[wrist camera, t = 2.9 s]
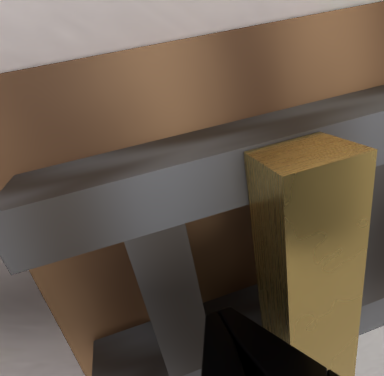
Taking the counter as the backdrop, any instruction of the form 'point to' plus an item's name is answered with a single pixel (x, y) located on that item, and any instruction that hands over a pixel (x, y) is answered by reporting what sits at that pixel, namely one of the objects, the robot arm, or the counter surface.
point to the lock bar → (312, 242)
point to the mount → (174, 177)
